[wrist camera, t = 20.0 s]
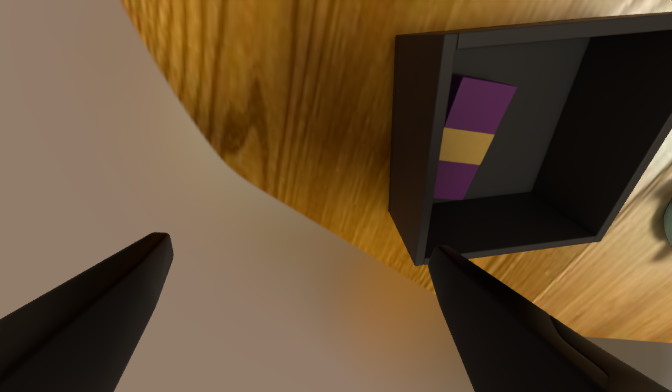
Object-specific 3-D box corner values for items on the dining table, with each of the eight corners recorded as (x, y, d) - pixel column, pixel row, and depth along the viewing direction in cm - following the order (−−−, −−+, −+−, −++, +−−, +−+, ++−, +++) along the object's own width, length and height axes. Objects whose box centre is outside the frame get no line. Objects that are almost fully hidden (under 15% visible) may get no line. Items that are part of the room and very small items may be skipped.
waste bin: (388, 210, 23) (414, 266, 17) (395, 35, 16) (444, 34, 10) (530, 193, 23) (600, 241, 18) (599, 16, 16) (750, 6, 11)
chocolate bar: (447, 184, 21) (462, 200, 19) (405, 180, 21) (417, 196, 18) (492, 80, 17) (519, 86, 15) (442, 71, 17) (463, 76, 14)
